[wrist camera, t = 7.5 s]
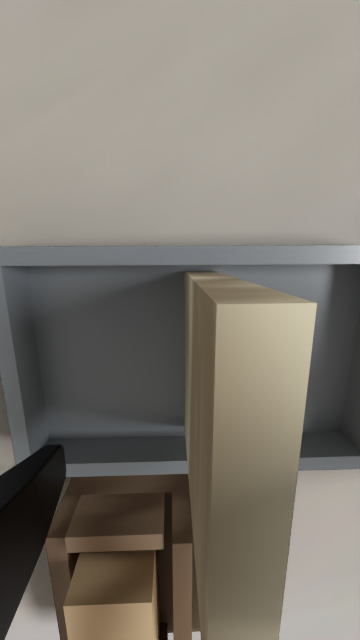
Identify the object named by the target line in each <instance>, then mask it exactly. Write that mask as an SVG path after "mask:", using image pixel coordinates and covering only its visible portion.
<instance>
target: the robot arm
mask: <svg viewBox="0 0 360 640" xmlns="http://www.w3.org/2000/svg"><path fill="white" fill-rule="evenodd" d="M65 478H66V462H65V453H64V447H63V445H61V444H47V445H45V446H43V447H42V448H40V449H39V450H37V451H36V452H35V453H33V454H32V455H30V456H29V457H27V458H26V459H24V460H23V461H21V462H20V463H18V464H17V465H15V466H14V467H12V468H11V469H9V470H8V471H6V472H5V473H4V474H2V475H1V476H0V640H4V639H5V637H6V635H7V632H8V630H9V627H10V625H11V623H12V620H13V618H14V615H15V613H16V611H17V608H18V606H19V604H20V601H21V599H22V596H23V594H24V592H25V589H26V587H27V585H28V582H29V580H30V577H31V575H32V573H33V570H34V568H35V565H36V563H37V561H38V558H39V556H40V553H41V551H42V548H43V546H44V543H45V541H46V538H47V535H48V532H49V529H50V525H51V522H52V519H53V516H54V513H55V510H56V507H57V503H58V500H59V497H60V494H61V491H62V488H63V484H64V481H65Z"/></svg>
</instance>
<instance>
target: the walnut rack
mask: <svg viewBox="0 0 360 640" xmlns="http://www.w3.org/2000/svg"><path fill="white" fill-rule="evenodd" d="M45 543H46V549H47V556H48V562H49V569H50V575H51V582H52V588H53V595H54V601H55V608H56V615H57V621H58V628H59V634H60V640H68V637H67V630H66V623H65V616H64V609H63V605H64V602H65V599H66V595H67V592H68V589H69V586H70V583H71V579H72V576H73V573H74V570H75V566H76V563H77V560H78V557H79V554H80V552H105V551H132V550H158V563H159V596H160V639H159V640H168V633H174V640H192V632H195V631H200V619H199V606H198V593H197V580H196V567H195V555H194V542H193V529H192V516H191V503H190V490H189V477H188V474H162V475H127V476H92V477H72V479H71V481H70V484H69V486H68V488H67V490H66V493H65V495H64V497H63V499H62V501H61V504H60V506H59V508H58V510H57V512H56V515H55V517H54V519H53V521H52V524H51V526H50V529H49V532H48V535H47V538H46V541H45Z"/></svg>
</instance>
